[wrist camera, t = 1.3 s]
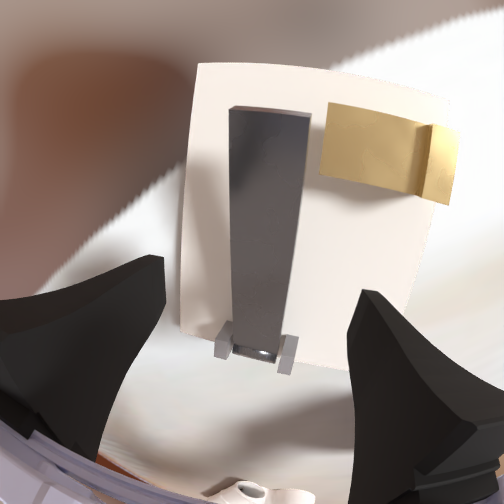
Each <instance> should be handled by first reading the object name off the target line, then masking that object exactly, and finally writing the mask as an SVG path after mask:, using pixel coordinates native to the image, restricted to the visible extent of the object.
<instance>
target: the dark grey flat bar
mask: <svg viewBox="0 0 504 504" xmlns="http://www.w3.org/2000/svg"><path fill="white" fill-rule="evenodd" d="M311 119H312V113H307V112H300V111H292V110H284V109H275V108H264V107H252V106H238V105H235V106H233V107H232V108H230V109H229V211H230V255H231V289H232V318H233V343H234V345H233V350H232V353H233V354H236V355H240V356H244V357H248V358H252V359H256V360H260V361H265V362H269V363H273V364H275V362H276V359H277V355H278V351H279V346H280V339H281V334H282V328H283V322H284V316H285V311H286V305H287V299H288V293H289V287H290V280H291V274H292V268H293V261H294V255H295V248H296V241H297V234H298V227H299V220H300V212H301V205H302V197H303V190H304V182H305V173H306V165H307V156H308V147H309V138H310V129H311Z"/></svg>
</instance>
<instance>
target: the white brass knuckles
mask: <svg viewBox="0 0 504 504" xmlns="http://www.w3.org/2000/svg"><path fill="white" fill-rule="evenodd" d="M241 488H244V490H242V491H240V490H239V489H241ZM207 501H209V502H214V503H218V504H314V503H315V496H314V495H313V494H312V493H310V492H307V491H304V490H299V489H279V490H272V489H267V488H264V487H261V486H259V485H258V484H255V483H253V482H250V481H238V482H235V484H234V485H232V486H230V487H228V488H227V489H225V490H221V492H219V493H217V494H215V495H213V496H209V497H208V499H207Z"/></svg>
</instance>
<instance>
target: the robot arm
mask: <svg viewBox="0 0 504 504" xmlns="http://www.w3.org/2000/svg"><path fill="white" fill-rule="evenodd" d="M165 304H166V291H165V272H164V257H160V256H155V255H146V256H143V257H140V258H138V259H135V260H133V261H131V262H128V263H126V264H124V265H121V266H119V267H117V268H115V269H112V270H110V271H108V272H106V273H103V274H101V275H98V276H96V277H93V278H91V279H88V280H86V281H84V282H81V283H78V284H75V285H72V286H69V287H66V288H63V289H59V290H56V291H52V292H48V293H43V294H39V295H35V296H30V297H24V298H17V299H9V300H0V500H1V501H2V502H3V503H4V504H106V503H104V502H103V501H102V500H100V499H99V498H98V497H96V496H95V495H94V493H93V492H92V491H91V490H90V489H88V488H87V487H85V486H83V485H81V484H80V483H78V482H77V481H79V482H81V483H83V484H85V485H87V486H89V487H91V488H93V489H95V490H97V491H99V492H101V493H103V494H106V495H108V496H110V497H112V498H115V499H117V500H119V501H122V502H124V503H127V504H218V503H214V502H209V501H204V500H200V499H196V498H192V497H188V496H184V495H181V494H177V493H174V492H170V491H167V490H164V489H161V488H157V487H154V486H151V485H148V484H146V483H143V482H140V481H137V480H135V479H132V478H129V477H127V476H124V475H122V474H119V473H117V472H115V471H112V470H110V469H107V468H105V467H103V466H101V465H99V464H96V463H95V461H96V457H97V453H98V449H99V445H100V441H101V438H102V434H103V431H104V428H105V425H106V422H107V419H108V416H109V413H110V411H111V408H112V406H113V403H114V401H115V398H116V396H117V393H118V391H119V389H120V386H121V384H122V382H123V380H124V377H125V375H126V373H127V371H128V370H129V368H130V366H131V364H132V363H133V361H134V359H135V358H136V356H137V355H138V353H139V351H140V350H141V348H142V347H143V345H144V344H145V342H146V340H147V339H148V337H149V336H150V334H151V332H152V331H153V329H154V328H155V326H156V324H157V322H158V320H159V318H160V316H161V314H162V311H163V309H164V307H165ZM347 359H348V366H349V372H350V379H351V386H352V393H353V400H354V408H355V448H354V463H353V472H352V481H351V488H350V494H349V500H348V504H504V474H503V475H501V476H499V477H497V478H496V474H495V471H496V470H497V469H499V468H500V463H499V459H498V458H499V457H500V456H501V455H502V454H504V391H503V390H501V389H498V388H496V387H494V386H492V385H491V384H489V383H487V382H485V381H483V380H481V379H480V378H478V377H476V376H475V375H473V374H471V373H470V372H468V371H467V370H465V369H464V368H462V367H461V366H459V365H458V364H456V363H455V362H454V361H452V360H451V359H450V358H448V357H447V356H446V355H445V354H443V353H442V352H441V351H440V350H438V349H437V348H436V347H435V346H434V345H432V344H431V343H430V342H429V341H428V340H427V339H426V338H425V337H424V336H423V335H422V334H421V333H419V332H418V331H417V330H416V329H415V328H414V327H413V326H412V325H411V324H410V323H409V322H408V321H407V320H406V319H405V318H404V317H403V316H402V314H401V313H400V312H399V311H398V310H397V309H396V308H395V307H394V306H393V305H392V304H391V303H390V302H389V301H388V300H387V299H386V298H385V297H384V296H383V295H382V294H381V293H379V292H378V291H374V290H367V289H362V290H361V293H360V296H359V299H358V302H357V305H356V308H355V311H354V314H353V317H352V319H351V322H350V325H349V328H348V330H347ZM67 475H68V476H67ZM69 476H70V477H72V478H73V479H72V478H70V477H69ZM74 479H75V480H77V481H75V480H74Z"/></svg>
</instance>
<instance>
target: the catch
mask: <svg viewBox="0 0 504 504" xmlns="http://www.w3.org/2000/svg"><path fill="white" fill-rule="evenodd" d="M459 137H460V132H457V131H455V130H452V129H449V128H446V127H443V126H440V125H437V124H434V123H432V124H429V125H427V124H423V123H420V122H417V121H413V120H410V119H406V118H402V117H398V116H394V115H390V114H386V113H382V112H378V111H373V110H369V109H364V108H359V107H354V106H349V105H344V104H338V103H332V102H328V108H327V116H326V124H325V132H324V140H323V147H322V154H321V162H320V168H319V175H324V176H329V177H335V178H340V179H345V180H350V181H355V182H360V183H364V184H369V185H374V186H378V187H383V188H387V189H391V190H395V191H400V192H404V193H408V194H412V195H416V196H418V197H420V198H423V199H427V200H430V201H434V202H438V203H441V204H445V205H448V206H449V201H450V196H451V191H452V186H453V180H454V174H455V168H456V161H457V154H458V146H459Z"/></svg>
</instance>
